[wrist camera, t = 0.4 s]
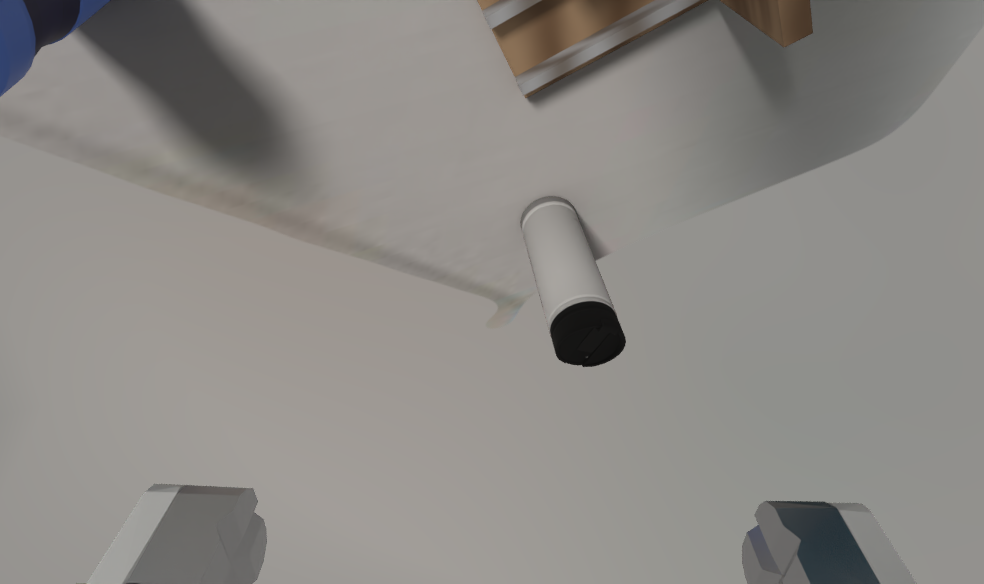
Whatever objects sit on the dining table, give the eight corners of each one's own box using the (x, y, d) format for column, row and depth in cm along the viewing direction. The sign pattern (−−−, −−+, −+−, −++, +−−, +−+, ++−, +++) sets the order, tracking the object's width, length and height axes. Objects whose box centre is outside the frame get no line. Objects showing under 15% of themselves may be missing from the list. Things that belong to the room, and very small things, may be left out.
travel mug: (586, 202, 63) (644, 333, 49) (558, 246, 67) (604, 381, 53) (536, 185, 61) (581, 318, 47) (510, 233, 65) (544, 369, 50)
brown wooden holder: (523, 92, 54) (551, 164, 44) (473, -9, 48) (493, 48, 38) (731, -20, 50) (813, 32, 40) (707, -149, 43) (797, -124, 33)
